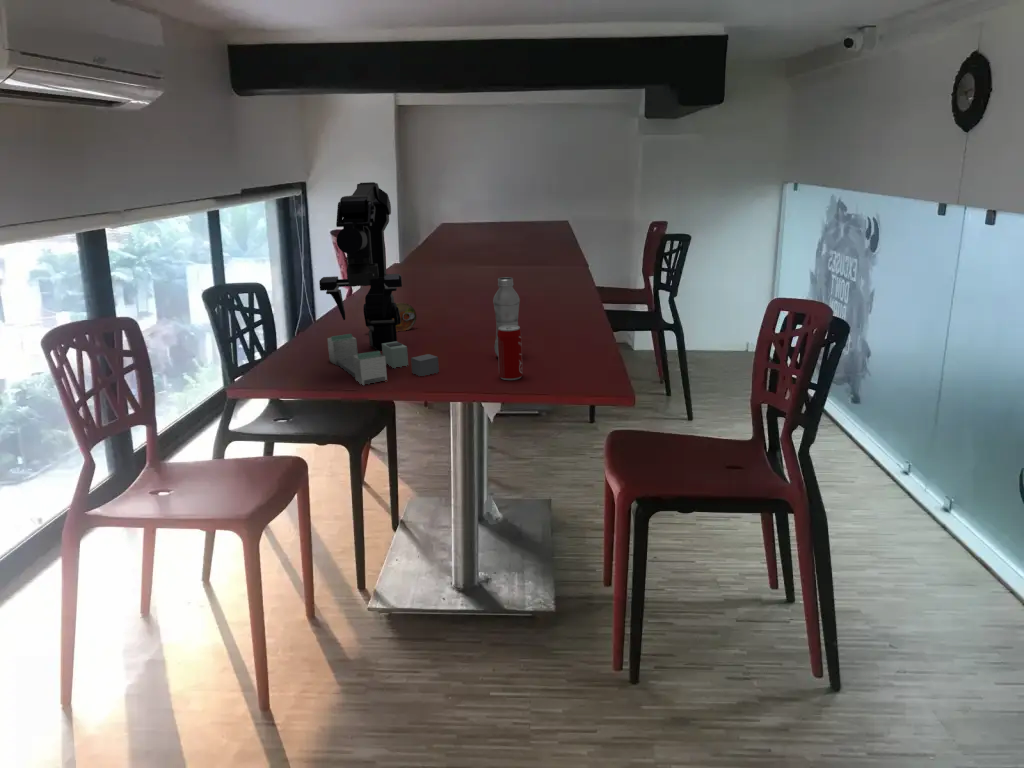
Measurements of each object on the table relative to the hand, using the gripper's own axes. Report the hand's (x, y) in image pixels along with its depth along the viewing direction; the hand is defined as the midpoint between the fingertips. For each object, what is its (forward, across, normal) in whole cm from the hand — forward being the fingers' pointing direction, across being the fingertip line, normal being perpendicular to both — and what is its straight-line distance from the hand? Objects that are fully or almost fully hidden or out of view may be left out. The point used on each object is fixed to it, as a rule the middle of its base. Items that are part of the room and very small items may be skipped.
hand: (364, 318), depth 184 cm
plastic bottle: (+12, +35, +6) cm, 37 cm away
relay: (+14, +14, -3) cm, 19 cm away
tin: (+10, +5, +44) cm, 45 cm away
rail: (+13, -3, +4) cm, 14 cm away
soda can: (+14, +33, -12) cm, 38 cm away
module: (+13, +6, +7) cm, 16 cm away
